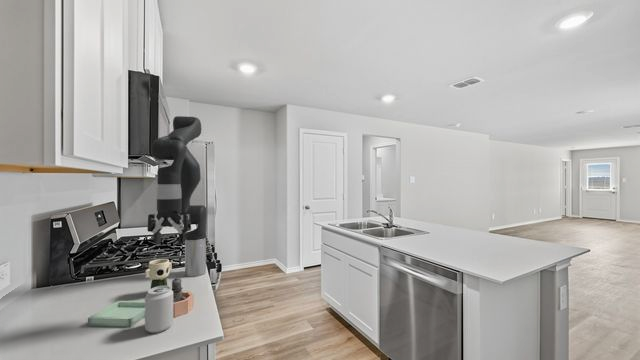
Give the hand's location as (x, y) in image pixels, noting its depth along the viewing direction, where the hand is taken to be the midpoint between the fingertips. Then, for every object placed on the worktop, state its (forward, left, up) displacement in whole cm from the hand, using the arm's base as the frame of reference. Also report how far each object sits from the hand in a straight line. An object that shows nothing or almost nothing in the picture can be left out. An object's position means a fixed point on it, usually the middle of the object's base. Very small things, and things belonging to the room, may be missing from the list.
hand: (169, 243), depth 93 cm
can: (+10, +3, -24) cm, 26 cm away
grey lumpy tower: (-1, +2, -24) cm, 24 cm away
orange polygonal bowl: (-1, +2, -23) cm, 23 cm away
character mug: (-14, -13, -24) cm, 30 cm away
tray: (+4, -13, -23) cm, 27 cm away
